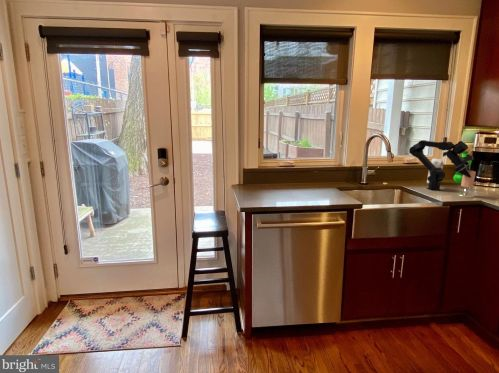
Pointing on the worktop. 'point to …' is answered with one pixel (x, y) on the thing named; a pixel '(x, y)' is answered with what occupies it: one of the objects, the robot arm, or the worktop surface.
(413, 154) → the robot arm
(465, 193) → the silver pot lid
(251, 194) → the worktop surface
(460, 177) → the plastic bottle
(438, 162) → the milk carton
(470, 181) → the terracotta pot
